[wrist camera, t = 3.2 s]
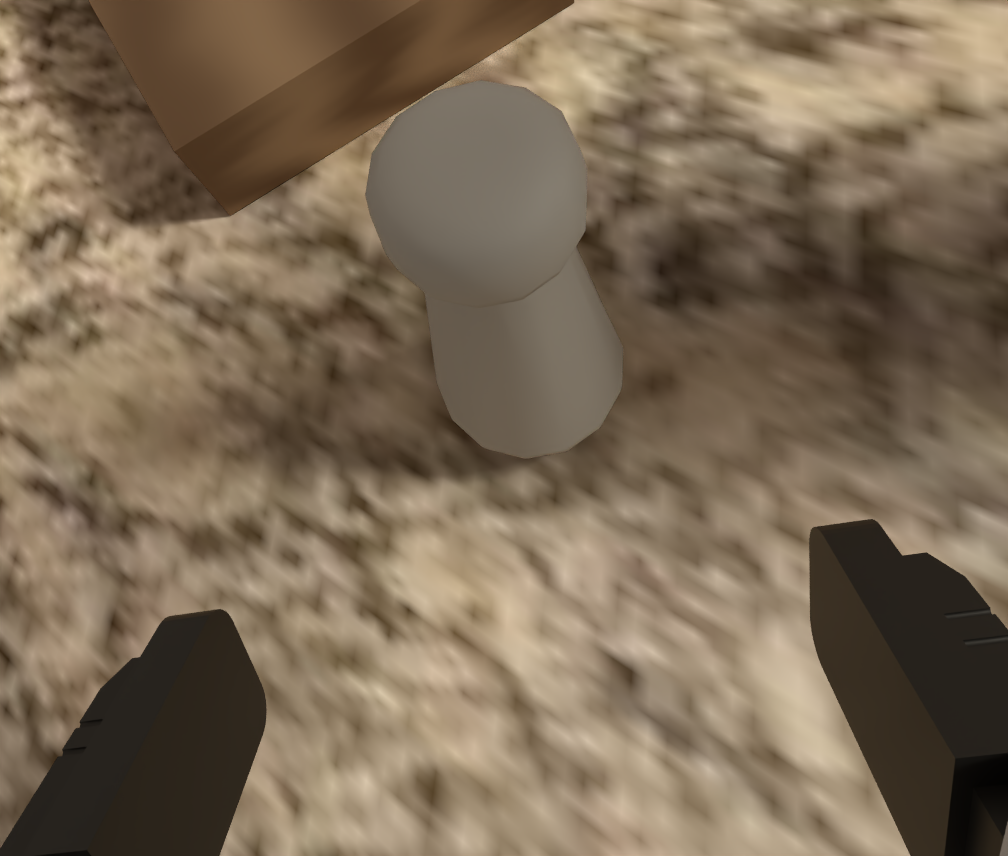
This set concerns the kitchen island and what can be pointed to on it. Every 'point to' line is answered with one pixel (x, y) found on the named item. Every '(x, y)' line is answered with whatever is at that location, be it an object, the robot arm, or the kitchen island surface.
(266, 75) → the walnut riser
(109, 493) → the kitchen island surface
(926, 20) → the kitchen island surface
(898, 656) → the robot arm
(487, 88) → the salt shaker
